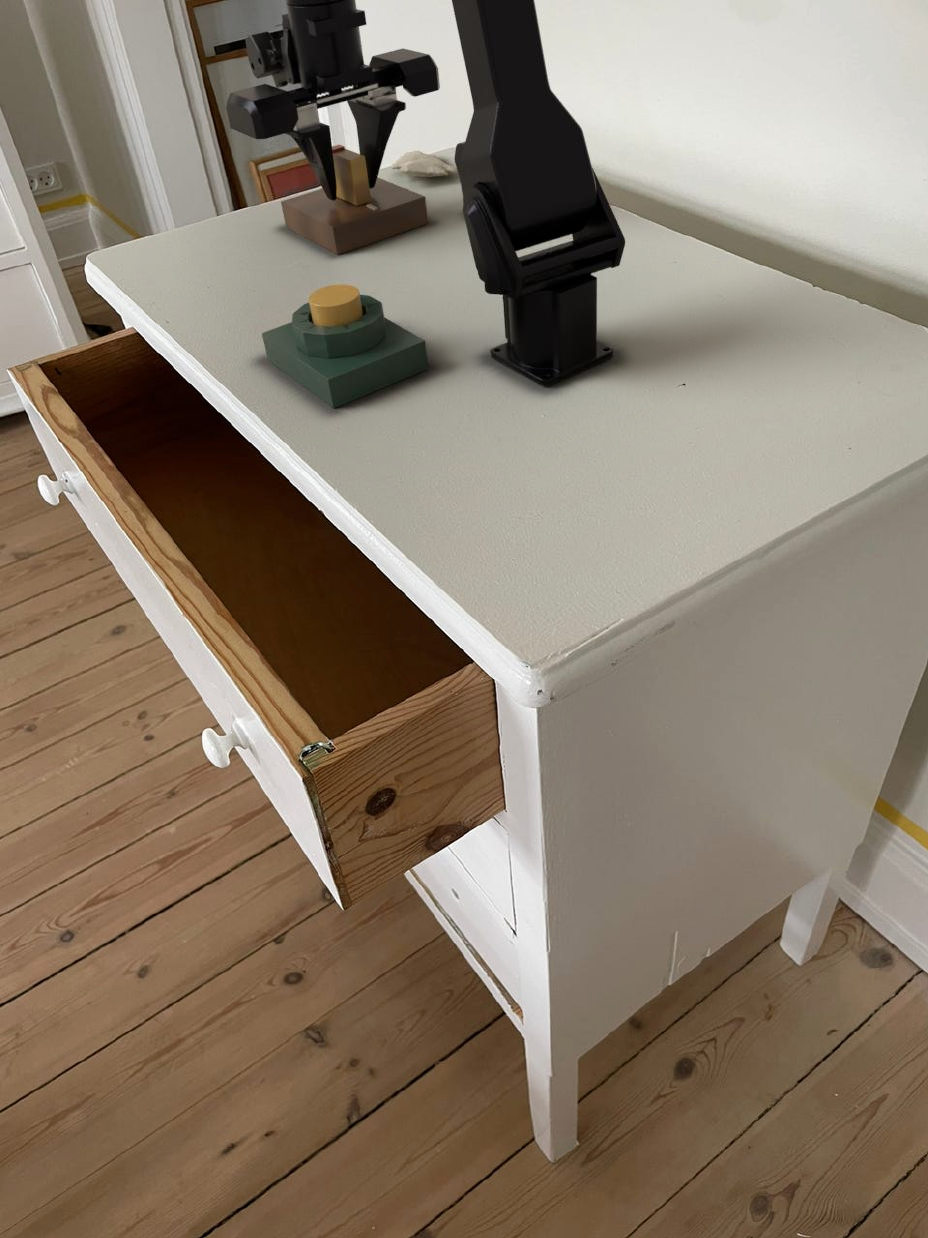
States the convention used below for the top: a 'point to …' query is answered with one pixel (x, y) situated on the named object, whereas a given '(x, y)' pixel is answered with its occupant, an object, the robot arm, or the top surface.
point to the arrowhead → (422, 165)
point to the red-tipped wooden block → (351, 176)
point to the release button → (335, 305)
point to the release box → (345, 353)
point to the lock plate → (355, 216)
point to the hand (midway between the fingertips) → (351, 193)
